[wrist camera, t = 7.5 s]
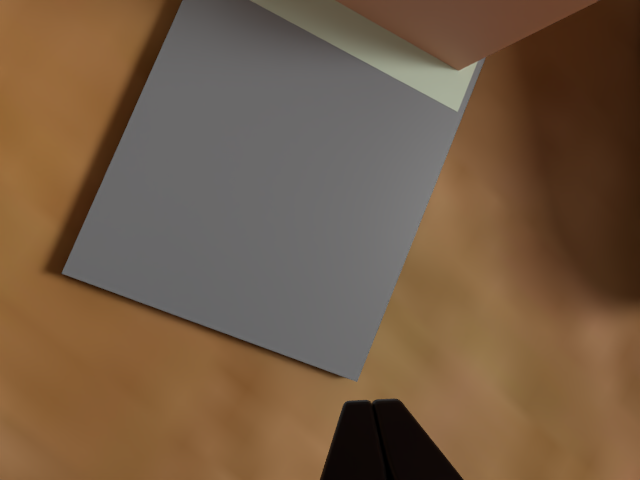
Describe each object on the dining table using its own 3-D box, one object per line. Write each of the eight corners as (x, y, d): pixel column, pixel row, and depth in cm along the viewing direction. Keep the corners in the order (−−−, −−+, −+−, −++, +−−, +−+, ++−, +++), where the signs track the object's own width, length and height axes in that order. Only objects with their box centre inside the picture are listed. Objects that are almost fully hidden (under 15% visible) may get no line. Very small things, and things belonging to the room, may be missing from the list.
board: (352, 377, 22) (357, 381, 21) (64, 271, 19) (61, 273, 18) (534, -82, 23) (544, -90, 23) (293, -245, 20) (297, -259, 20)
